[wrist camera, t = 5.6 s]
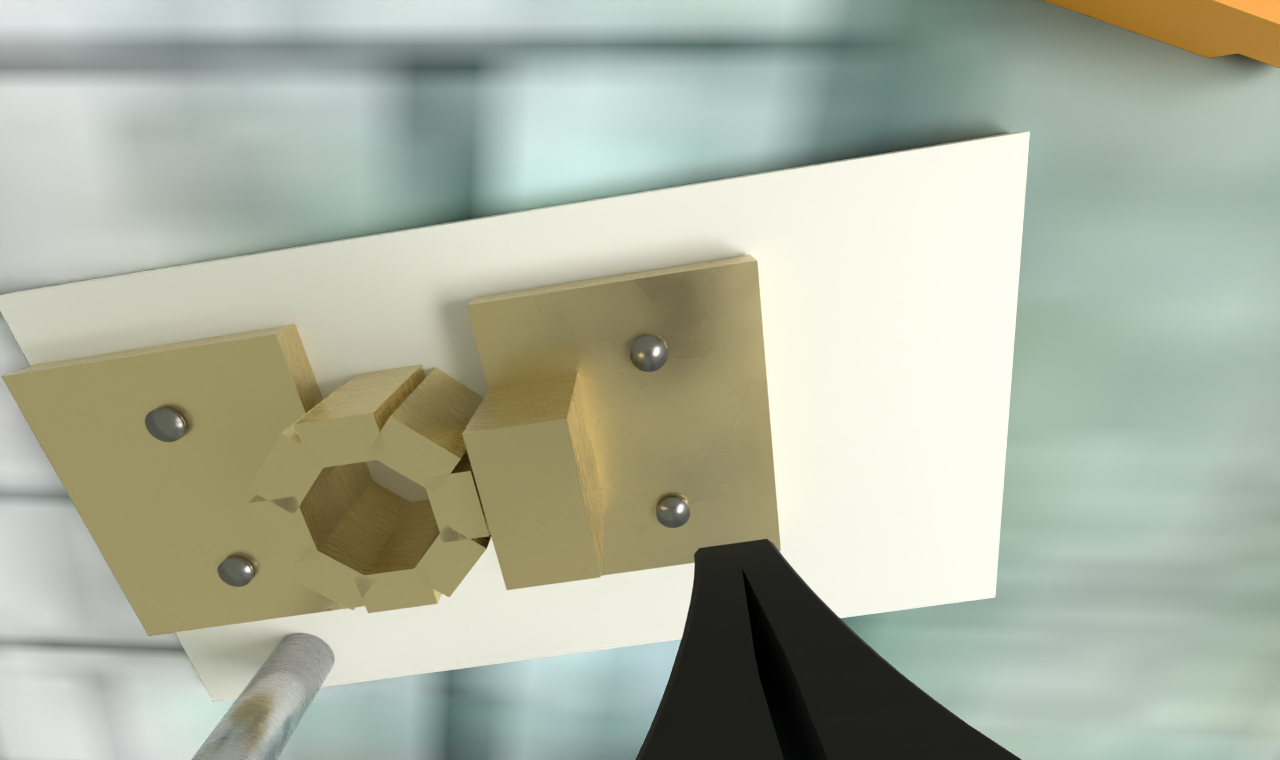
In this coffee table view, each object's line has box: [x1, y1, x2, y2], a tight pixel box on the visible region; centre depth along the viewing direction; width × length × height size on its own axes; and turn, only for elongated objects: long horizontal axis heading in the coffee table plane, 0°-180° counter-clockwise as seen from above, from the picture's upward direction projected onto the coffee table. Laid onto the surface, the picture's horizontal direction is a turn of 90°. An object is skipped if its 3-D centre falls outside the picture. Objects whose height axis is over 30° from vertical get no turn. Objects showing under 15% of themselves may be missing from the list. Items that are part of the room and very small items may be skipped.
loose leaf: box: [462, 254, 781, 590], centre depth 16 cm, size 9×8×4 cm
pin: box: [191, 633, 335, 760], centre depth 18 cm, size 2×2×6 cm
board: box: [0, 132, 1030, 702], centre depth 19 cm, size 15×28×1 cm, turn 99°
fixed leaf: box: [2, 324, 491, 636], centre depth 17 cm, size 9×13×4 cm
